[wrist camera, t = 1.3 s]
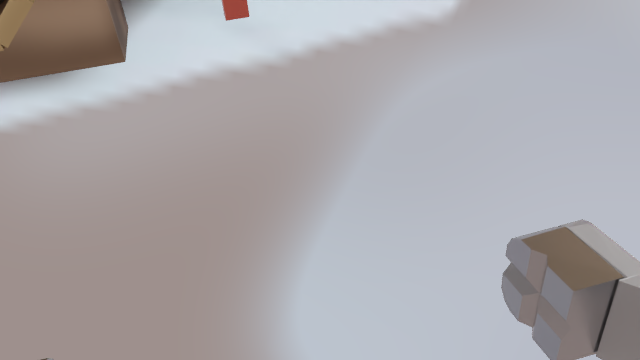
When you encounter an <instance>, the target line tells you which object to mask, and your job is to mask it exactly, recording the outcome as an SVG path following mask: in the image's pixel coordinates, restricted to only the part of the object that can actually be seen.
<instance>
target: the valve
mask: <svg viewBox="0 0 640 360" xmlns="http://www.w3.org/2000/svg"><path fill="white" fill-rule="evenodd" d="M222 5H223V11H224V15H225V18H226V20H232V19H238V18H245V17H249V11H248V5H247V0H222Z"/></svg>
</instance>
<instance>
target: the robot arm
mask: <svg viewBox="0 0 640 360" xmlns="http://www.w3.org/2000/svg"><path fill="white" fill-rule="evenodd" d="M506 257H507V258H508V259H509V260H510V261H511V264H510V265H509V266H508V268H507V269H506V270H505V271H504V273H503V277H502V291H503V295H504V299H505V302H506V304H507V306H508V308H509V310H510V311H511V313H512V314H513V315H514V316H515V318H516V319H517V320H518V321H520V322H522V323H524V324H526V325H528V326H531V327H532V331H533V332H532V338H533V340H534V341H535V342H536V343H537V344H538V346H539V347H540V348H541V349H542V350H543V352H544V353H545V354H546V355H547V356H548V358H550V360H576V359H579V358H583V357H586V356H589V355H593V354H596V356H597V357H598V358H600V359H602V360H640V262H639V261H638V260H637V259H636V258H634V257H633V256H632V255H631V254H629V253H628V252H627V251H626V250H624V249H623V248H622V247H621V246H619V245H618V244H617V243H616V242H614V241H613V240H612V239H611V238H609V237H608V236H607V235H606V234H604V233H603V232H602V231H601V230H599V229H598V228H597V227H596V226H594V225H593V224H592V223H590V222H588V221H585V220H579V221H575V222H571V223H568V224H564V225H560V226H558V227H553V228H550V229H546V230H542V231H538V232H535V233H531V234H527V235H523V236H520V237H516V238H512V239H511V241H510V242H509V243H508V245H507V250H506ZM42 360H53V359H50V358H46V359H42Z"/></svg>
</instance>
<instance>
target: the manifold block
mask: <svg viewBox="0 0 640 360" xmlns="http://www.w3.org/2000/svg"><path fill="white" fill-rule="evenodd" d="M127 35H128V25H127V22H126V18H125V15H124V11H123V8H122V5H121V1H120V0H0V83H1V82H7V81H13V80H19V79H25V78H31V77H37V76H43V75H49V74H55V73H61V72H67V71H73V70H79V69H85V68H91V67H97V66H103V65H109V64H115V63H121V62H125V59H126V47H127Z"/></svg>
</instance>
